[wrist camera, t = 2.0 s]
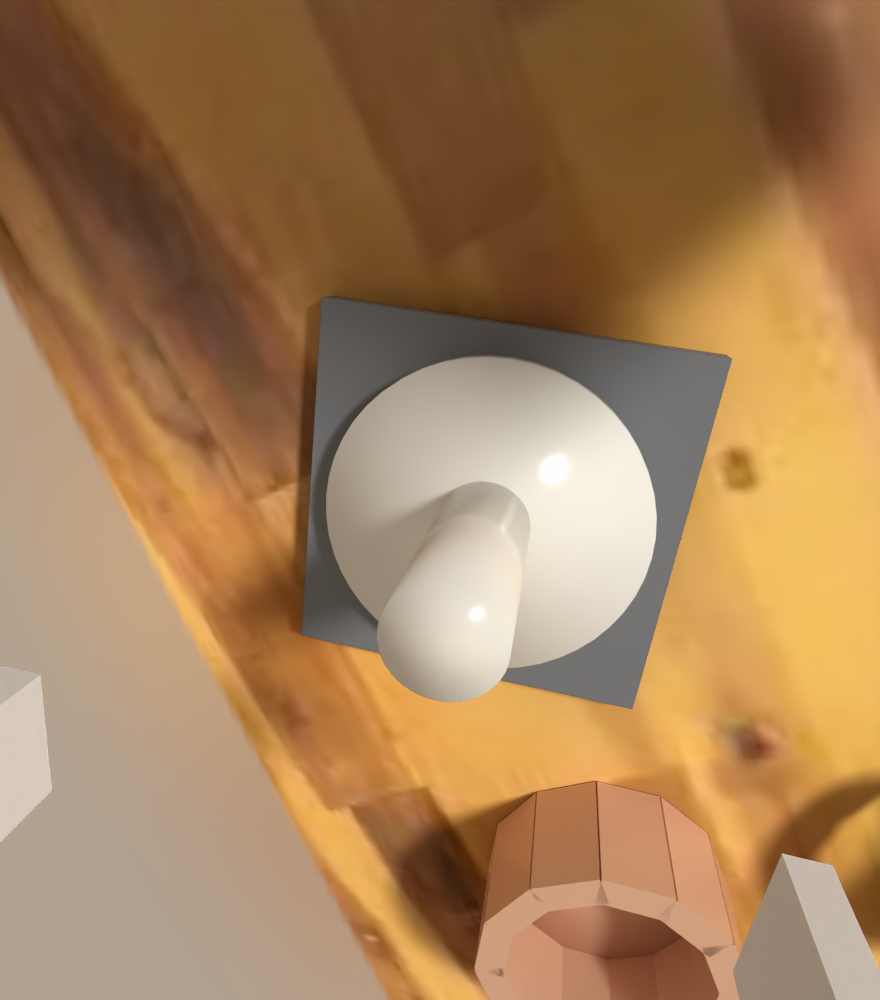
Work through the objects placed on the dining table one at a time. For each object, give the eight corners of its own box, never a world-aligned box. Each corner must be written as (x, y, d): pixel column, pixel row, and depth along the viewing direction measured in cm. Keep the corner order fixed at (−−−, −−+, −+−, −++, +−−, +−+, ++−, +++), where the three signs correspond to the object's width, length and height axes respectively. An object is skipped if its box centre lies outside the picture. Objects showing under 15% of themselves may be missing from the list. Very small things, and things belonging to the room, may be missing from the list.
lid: (346, 330, 23) (220, 366, 15) (692, 384, 22) (767, 458, 13) (325, 619, 28) (218, 773, 19) (612, 683, 26) (630, 879, 18)
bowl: (510, 760, 29) (499, 853, 25) (750, 818, 28) (786, 927, 23) (477, 921, 33) (461, 1028, 28) (687, 979, 32) (707, 1101, 27)
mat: (331, 295, 24) (321, 297, 23) (725, 354, 22) (732, 358, 21) (310, 623, 29) (301, 635, 28) (630, 694, 27) (632, 709, 26)
